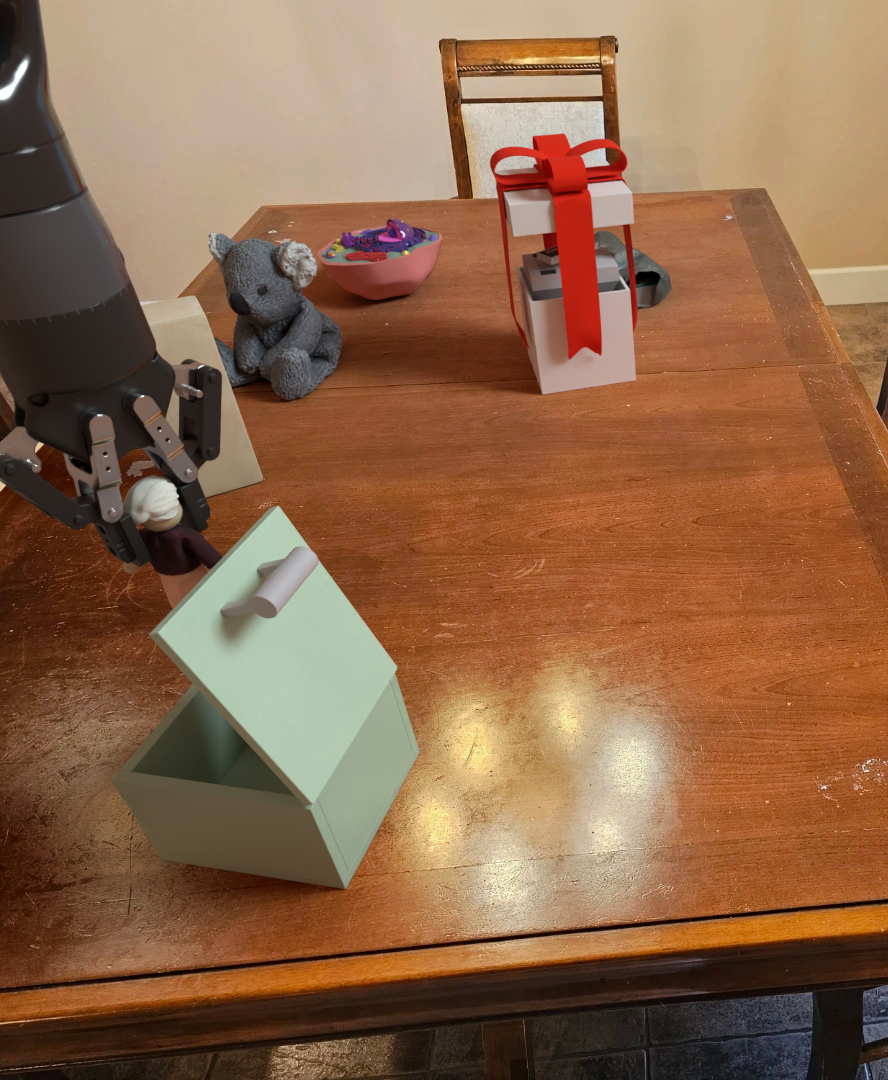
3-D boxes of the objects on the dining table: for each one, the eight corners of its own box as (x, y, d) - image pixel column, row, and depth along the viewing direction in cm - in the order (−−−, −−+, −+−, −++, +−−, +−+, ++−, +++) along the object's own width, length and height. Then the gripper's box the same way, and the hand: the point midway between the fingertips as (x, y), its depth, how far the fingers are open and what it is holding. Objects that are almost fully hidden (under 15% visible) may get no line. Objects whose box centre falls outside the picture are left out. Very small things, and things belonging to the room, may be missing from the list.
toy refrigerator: (253, 453, 114) (193, 291, 102) (266, 480, 110) (205, 314, 97) (183, 473, 111) (112, 307, 98) (193, 502, 106) (120, 332, 93)
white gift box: (625, 334, 141) (609, 124, 123) (653, 384, 128) (640, 158, 110) (513, 350, 137) (479, 135, 119) (530, 403, 124) (496, 172, 106)
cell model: (311, 293, 154) (292, 225, 148) (420, 263, 165) (407, 199, 158) (356, 324, 144) (337, 253, 138) (469, 290, 155) (457, 223, 148)
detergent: (682, 305, 149) (637, 250, 168) (678, 263, 145) (631, 211, 163) (604, 324, 146) (567, 266, 164) (597, 282, 142) (559, 227, 160)
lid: (147, 634, 53) (212, 622, 51) (269, 507, 63) (327, 493, 61) (303, 805, 61) (364, 799, 60) (390, 669, 71) (443, 660, 70)
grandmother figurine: (275, 615, 66) (220, 463, 58) (255, 652, 63) (194, 496, 55) (165, 617, 65) (95, 464, 58) (139, 654, 62) (62, 498, 55)
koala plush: (195, 390, 128) (140, 251, 116) (277, 336, 141) (236, 206, 129) (303, 406, 124) (258, 264, 112) (377, 349, 138) (344, 217, 126)
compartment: (161, 860, 69) (110, 780, 63) (257, 729, 79) (220, 650, 73) (345, 889, 67) (310, 809, 61) (420, 752, 77) (395, 672, 71)
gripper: (132, 232, 55) (227, 474, 65) (-141, 317, 45) (21, 585, 56) (212, 256, 52) (297, 507, 62) (-64, 353, 42) (92, 629, 53)
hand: (166, 542), depth 59 cm, fingers closed on grandmother figurine, 3 cm apart
